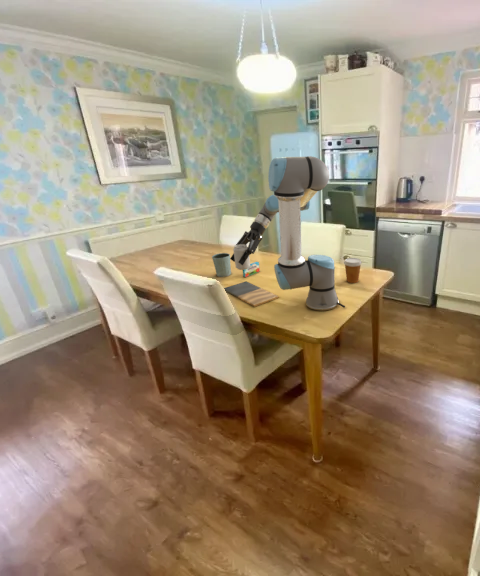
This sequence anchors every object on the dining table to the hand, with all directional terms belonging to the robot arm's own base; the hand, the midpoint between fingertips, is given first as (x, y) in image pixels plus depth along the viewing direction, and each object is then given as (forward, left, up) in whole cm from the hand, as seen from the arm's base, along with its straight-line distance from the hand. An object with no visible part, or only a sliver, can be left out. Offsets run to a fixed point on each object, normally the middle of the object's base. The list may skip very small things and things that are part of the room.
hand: (236, 262), depth 161 cm
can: (0, -4, -4) cm, 6 cm away
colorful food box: (+18, -19, -16) cm, 31 cm away
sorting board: (-7, -2, -16) cm, 18 cm away
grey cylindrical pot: (+30, -7, -16) cm, 35 cm away
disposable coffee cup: (-34, -51, -16) cm, 63 cm away
